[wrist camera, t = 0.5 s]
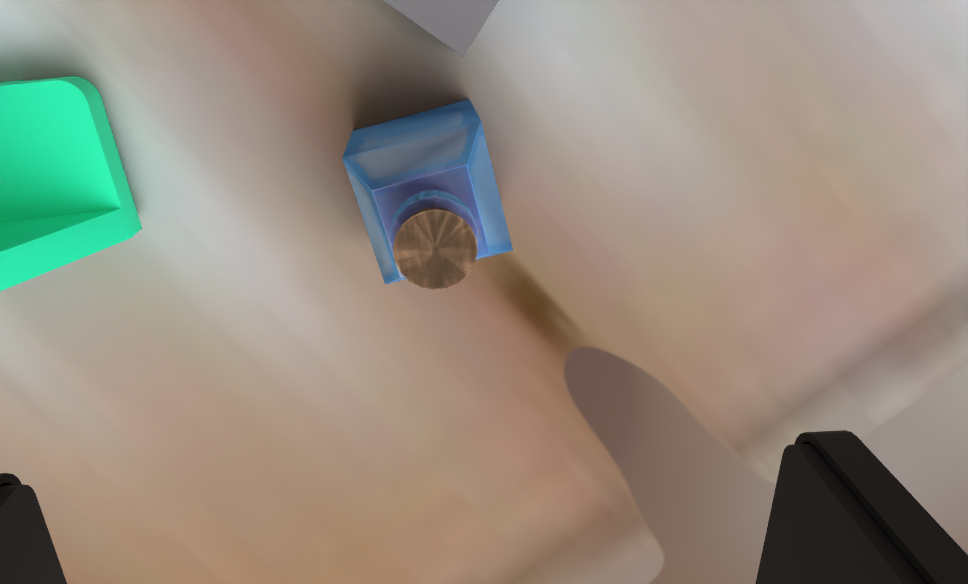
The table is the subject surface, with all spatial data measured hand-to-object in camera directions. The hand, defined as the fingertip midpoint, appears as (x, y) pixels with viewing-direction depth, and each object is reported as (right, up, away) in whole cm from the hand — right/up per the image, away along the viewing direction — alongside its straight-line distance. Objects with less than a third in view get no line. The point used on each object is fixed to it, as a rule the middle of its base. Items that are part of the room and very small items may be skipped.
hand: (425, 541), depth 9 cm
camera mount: (-23, +10, +26) cm, 36 cm away
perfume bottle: (-2, +10, +28) cm, 30 cm away
